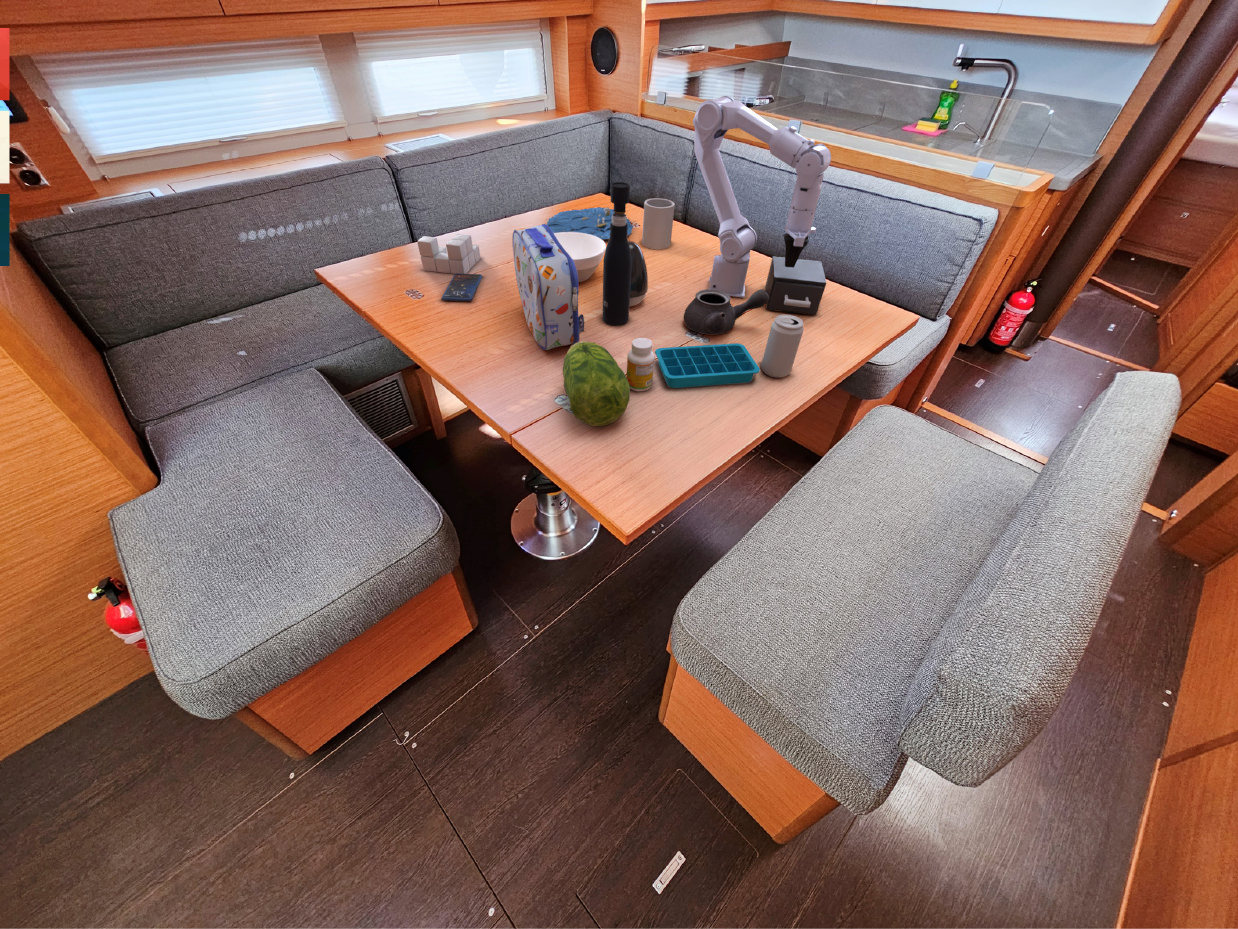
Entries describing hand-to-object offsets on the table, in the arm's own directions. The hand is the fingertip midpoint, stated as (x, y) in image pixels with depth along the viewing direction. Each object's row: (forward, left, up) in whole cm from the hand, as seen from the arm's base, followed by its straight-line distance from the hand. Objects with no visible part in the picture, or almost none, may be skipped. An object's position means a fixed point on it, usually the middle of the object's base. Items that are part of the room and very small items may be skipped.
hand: (789, 266), depth 127 cm
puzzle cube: (-91, +2, -11) cm, 92 cm away
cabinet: (+3, +4, -10) cm, 11 cm away
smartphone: (-82, -12, -10) cm, 84 cm away
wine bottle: (-40, -18, -11) cm, 45 cm away
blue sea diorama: (-60, +42, -11) cm, 74 cm away
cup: (-37, +34, -11) cm, 51 cm away
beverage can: (-2, -32, -11) cm, 34 cm away
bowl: (-57, +4, -11) cm, 58 cm away
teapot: (-14, -16, -11) cm, 24 cm away
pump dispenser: (-39, -8, -11) cm, 41 cm away
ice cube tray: (-17, -36, -11) cm, 42 cm away
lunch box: (-54, -27, -11) cm, 62 cm away
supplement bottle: (-30, -44, -11) cm, 55 cm away
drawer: (+3, 0, -9) cm, 10 cm away
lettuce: (-38, -52, -11) cm, 66 cm away
